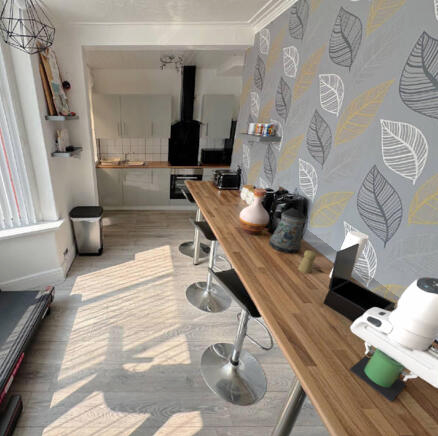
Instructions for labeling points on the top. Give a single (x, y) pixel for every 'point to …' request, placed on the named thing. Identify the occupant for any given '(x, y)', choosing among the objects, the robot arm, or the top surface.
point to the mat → (386, 392)
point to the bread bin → (355, 300)
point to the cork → (307, 262)
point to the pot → (383, 369)
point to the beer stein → (288, 231)
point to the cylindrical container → (353, 239)
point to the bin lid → (343, 265)
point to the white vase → (255, 214)
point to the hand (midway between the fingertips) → (384, 365)
